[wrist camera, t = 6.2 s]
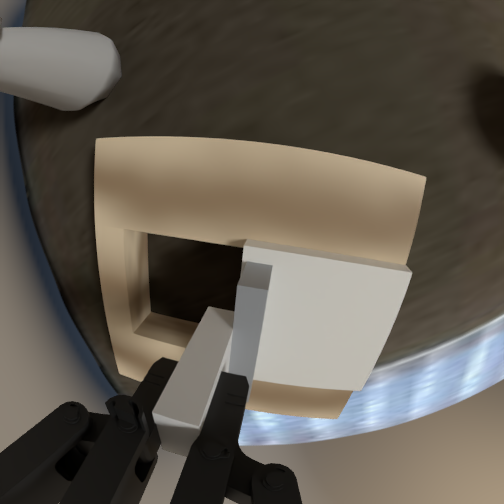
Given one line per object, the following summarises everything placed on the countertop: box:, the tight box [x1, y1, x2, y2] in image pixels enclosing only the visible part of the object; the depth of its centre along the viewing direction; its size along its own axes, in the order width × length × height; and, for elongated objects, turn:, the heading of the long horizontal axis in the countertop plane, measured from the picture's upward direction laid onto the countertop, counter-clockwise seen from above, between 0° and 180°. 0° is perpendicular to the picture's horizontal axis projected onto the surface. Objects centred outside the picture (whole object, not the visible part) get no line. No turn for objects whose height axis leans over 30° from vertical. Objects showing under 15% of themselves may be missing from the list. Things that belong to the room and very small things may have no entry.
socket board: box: [94, 136, 426, 419], centre depth 17 cm, size 18×18×3 cm
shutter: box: [229, 239, 412, 402], centre depth 13 cm, size 8×8×4 cm
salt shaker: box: [0, 17, 122, 111], centre depth 8 cm, size 6×6×13 cm
